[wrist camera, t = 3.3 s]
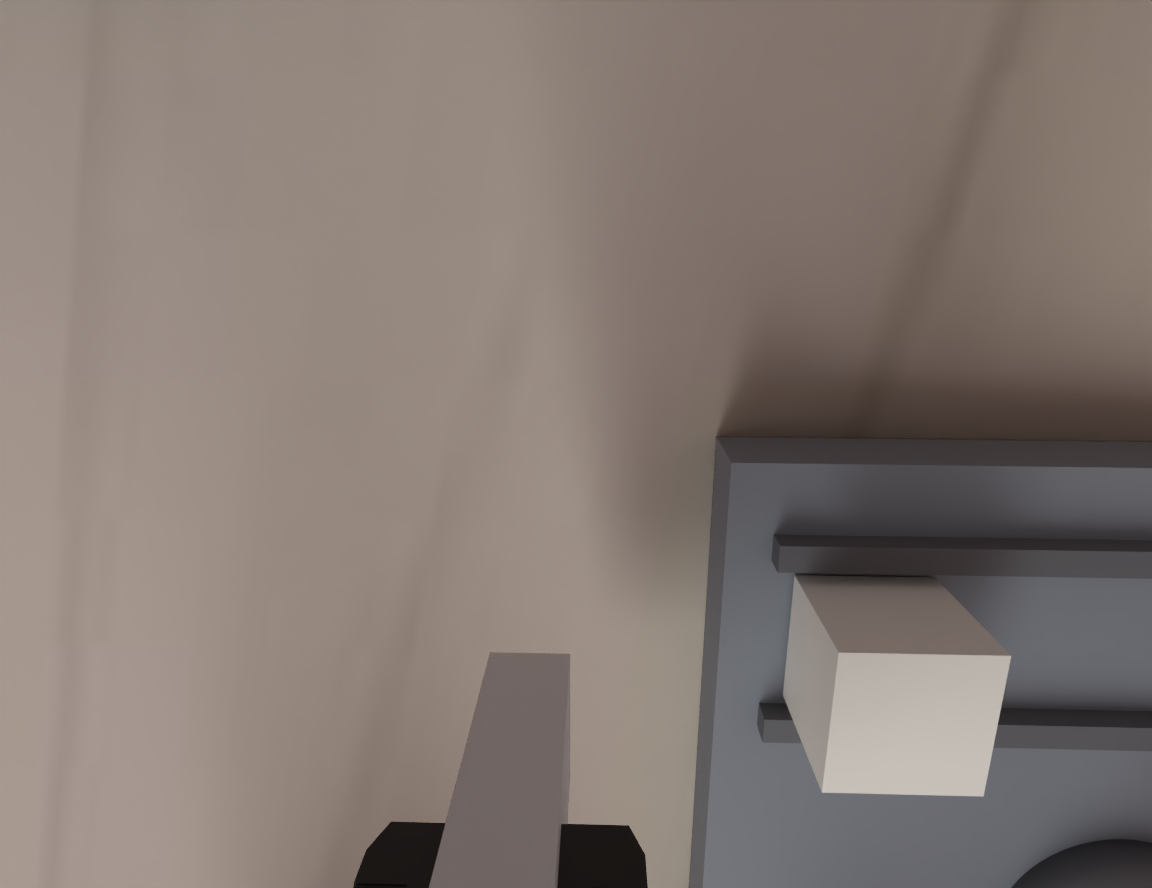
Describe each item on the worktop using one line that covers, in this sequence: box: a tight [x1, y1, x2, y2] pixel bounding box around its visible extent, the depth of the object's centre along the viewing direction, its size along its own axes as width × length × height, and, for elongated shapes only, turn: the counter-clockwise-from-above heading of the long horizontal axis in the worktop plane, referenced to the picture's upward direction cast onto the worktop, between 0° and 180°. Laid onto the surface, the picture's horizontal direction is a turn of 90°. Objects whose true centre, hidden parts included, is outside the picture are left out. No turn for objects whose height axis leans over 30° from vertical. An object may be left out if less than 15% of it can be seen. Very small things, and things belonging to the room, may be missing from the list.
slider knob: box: [783, 575, 1011, 797], centre depth 15 cm, size 3×3×3 cm
